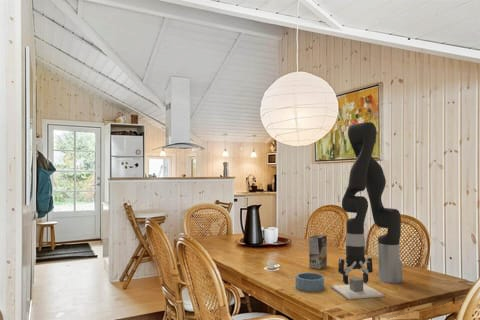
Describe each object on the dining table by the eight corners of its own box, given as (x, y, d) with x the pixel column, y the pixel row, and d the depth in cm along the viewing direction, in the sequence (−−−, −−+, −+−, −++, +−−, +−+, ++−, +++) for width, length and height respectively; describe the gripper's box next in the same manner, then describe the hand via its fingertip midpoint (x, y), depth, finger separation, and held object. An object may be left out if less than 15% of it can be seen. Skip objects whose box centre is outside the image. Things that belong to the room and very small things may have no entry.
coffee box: (320, 269, 193) (319, 238, 194) (309, 267, 197) (308, 237, 197) (327, 265, 200) (326, 235, 201) (316, 264, 204) (315, 234, 205)
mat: (364, 286, 165) (364, 284, 165) (385, 298, 149) (385, 296, 149) (330, 288, 161) (330, 287, 161) (348, 301, 146) (348, 299, 146)
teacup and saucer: (279, 267, 200) (279, 259, 200) (281, 271, 192) (281, 263, 192) (263, 267, 199) (263, 260, 199) (264, 271, 191) (264, 263, 192)
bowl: (317, 283, 170) (317, 271, 170) (328, 291, 158) (328, 279, 158) (292, 284, 167) (292, 273, 168) (301, 293, 156) (301, 281, 156)
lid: (363, 285, 164) (363, 273, 164) (383, 296, 149) (383, 283, 149) (331, 287, 161) (331, 275, 161) (348, 299, 146) (348, 285, 146)
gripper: (366, 241, 161) (366, 280, 160) (335, 243, 158) (335, 281, 157) (375, 245, 153) (376, 285, 153) (343, 246, 151) (343, 287, 150)
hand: (355, 283), depth 155 cm, fingers open, 8 cm apart
